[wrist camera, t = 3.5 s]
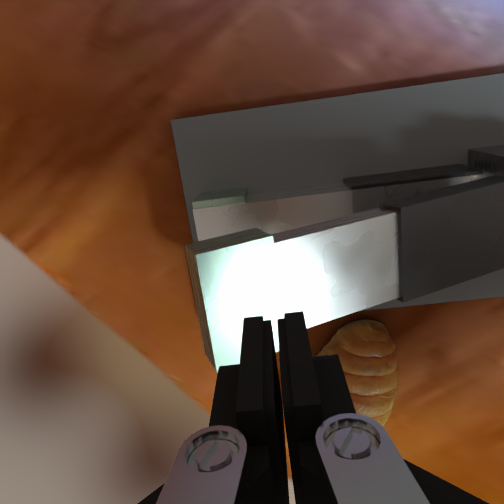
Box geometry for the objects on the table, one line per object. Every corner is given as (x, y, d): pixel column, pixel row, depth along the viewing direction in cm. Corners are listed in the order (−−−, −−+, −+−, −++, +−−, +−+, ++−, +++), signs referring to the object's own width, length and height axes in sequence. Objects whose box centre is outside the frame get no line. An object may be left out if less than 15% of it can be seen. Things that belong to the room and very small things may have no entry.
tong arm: (491, 171, 22) (521, 173, 20) (488, 260, 23) (515, 268, 22) (184, 244, 16) (195, 255, 15) (205, 353, 18) (216, 372, 16)
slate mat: (559, 65, 25) (571, 63, 24) (541, 286, 29) (550, 292, 28) (174, 119, 27) (170, 119, 26) (210, 319, 31) (208, 326, 30)
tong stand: (556, 134, 25) (628, 141, 20) (547, 238, 27) (611, 268, 22) (197, 180, 27) (180, 197, 22) (213, 274, 29) (201, 310, 24)
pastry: (321, 305, 31) (329, 331, 27) (412, 323, 31) (432, 351, 27) (291, 411, 34) (294, 447, 30) (374, 427, 34) (387, 465, 30)
